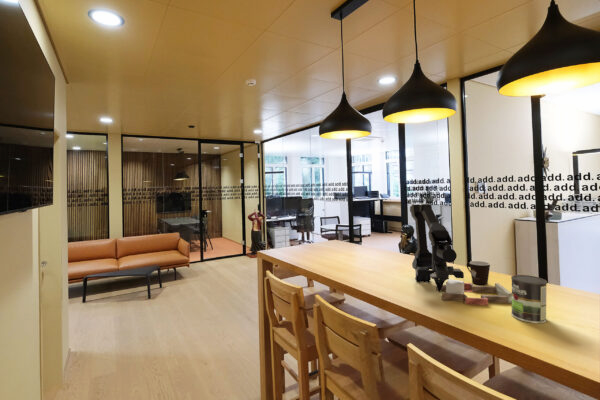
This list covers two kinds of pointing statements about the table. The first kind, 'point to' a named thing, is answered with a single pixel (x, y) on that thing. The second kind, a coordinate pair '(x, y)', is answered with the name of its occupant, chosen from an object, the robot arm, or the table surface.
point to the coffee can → (529, 298)
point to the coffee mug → (479, 272)
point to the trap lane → (469, 287)
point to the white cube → (455, 287)
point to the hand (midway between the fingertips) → (439, 291)
